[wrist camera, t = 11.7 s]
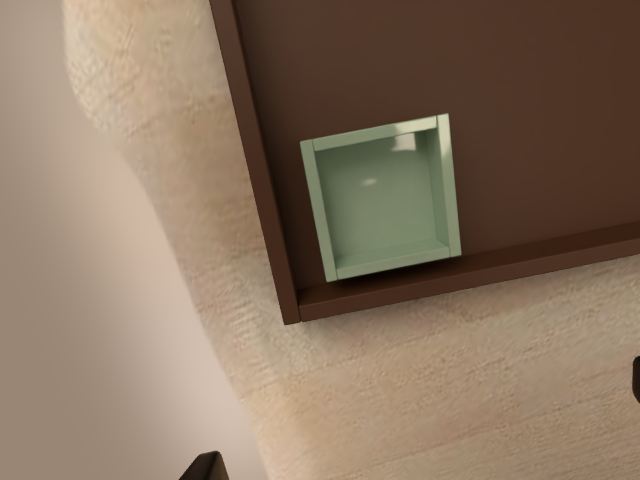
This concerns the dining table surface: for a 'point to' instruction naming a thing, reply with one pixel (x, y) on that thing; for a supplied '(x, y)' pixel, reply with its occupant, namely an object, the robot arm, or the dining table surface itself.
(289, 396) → the dining table surface
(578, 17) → the tray
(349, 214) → the celadon dish
